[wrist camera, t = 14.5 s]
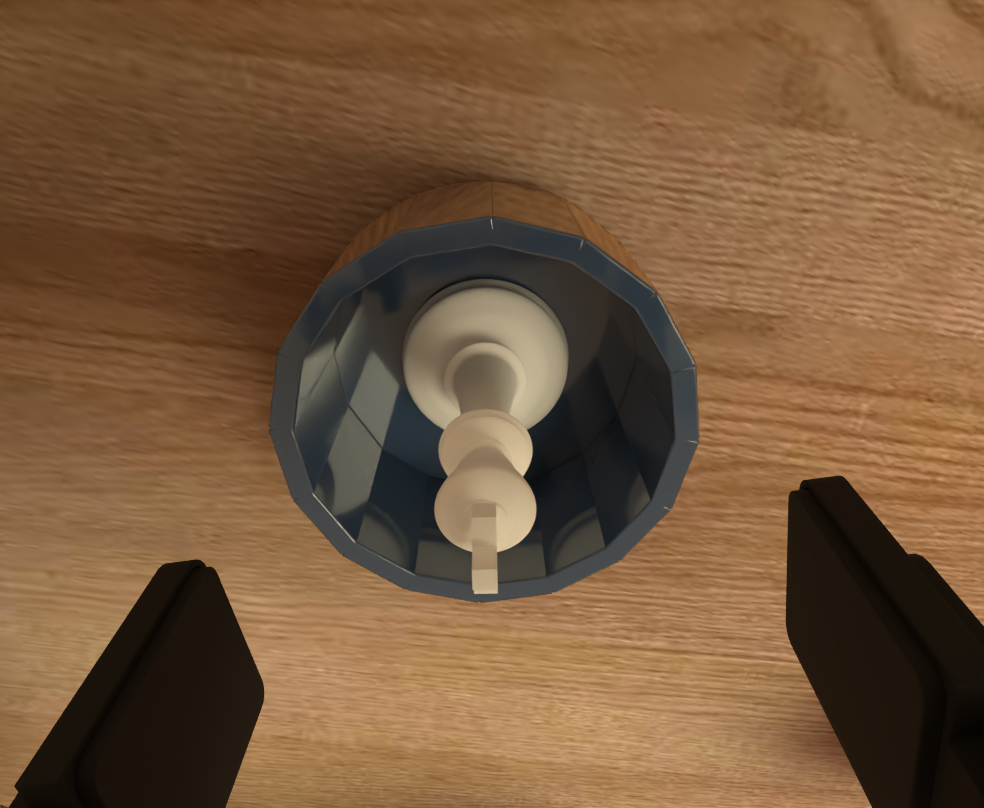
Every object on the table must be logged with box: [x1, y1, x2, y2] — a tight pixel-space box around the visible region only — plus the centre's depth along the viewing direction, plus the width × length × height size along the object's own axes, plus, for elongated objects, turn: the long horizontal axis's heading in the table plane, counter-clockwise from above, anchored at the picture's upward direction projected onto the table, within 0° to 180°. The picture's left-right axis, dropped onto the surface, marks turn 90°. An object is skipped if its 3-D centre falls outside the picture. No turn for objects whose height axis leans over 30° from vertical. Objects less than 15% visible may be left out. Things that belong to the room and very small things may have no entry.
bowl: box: [269, 181, 699, 603], centre depth 19 cm, size 10×10×6 cm
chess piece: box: [402, 279, 569, 594], centre depth 17 cm, size 5×5×10 cm
